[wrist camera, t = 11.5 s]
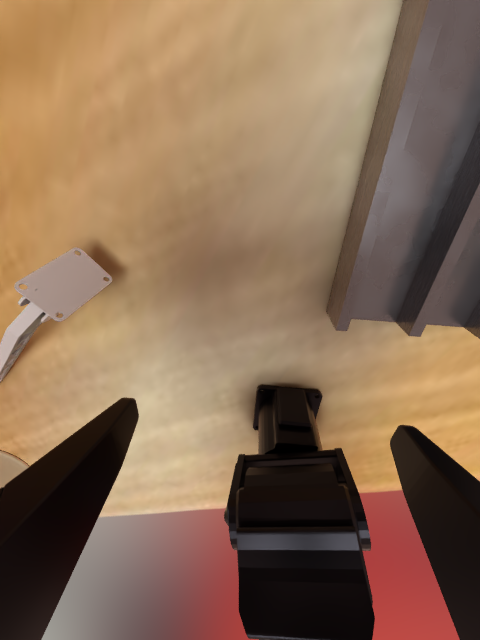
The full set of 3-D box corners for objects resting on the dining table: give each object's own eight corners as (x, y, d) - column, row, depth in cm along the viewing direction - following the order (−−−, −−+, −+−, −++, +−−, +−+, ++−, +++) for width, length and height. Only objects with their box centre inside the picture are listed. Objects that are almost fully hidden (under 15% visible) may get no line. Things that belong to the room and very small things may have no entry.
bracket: (116, 278, 18) (-30, 393, 12) (70, 336, 33) (-5, 401, 27) (79, 244, 17) (-101, 351, 11) (49, 320, 32) (-34, 383, 26)
